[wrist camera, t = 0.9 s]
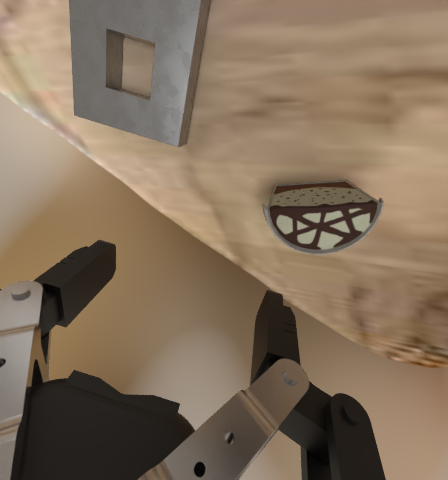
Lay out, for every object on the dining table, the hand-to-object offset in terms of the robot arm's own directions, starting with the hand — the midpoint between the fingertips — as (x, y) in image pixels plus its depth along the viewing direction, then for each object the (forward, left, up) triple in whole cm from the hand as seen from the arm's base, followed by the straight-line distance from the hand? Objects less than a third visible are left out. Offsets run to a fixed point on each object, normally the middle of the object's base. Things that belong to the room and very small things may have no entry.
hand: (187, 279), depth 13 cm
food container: (+2, +11, -26) cm, 28 cm away
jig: (-10, -15, -25) cm, 31 cm away
